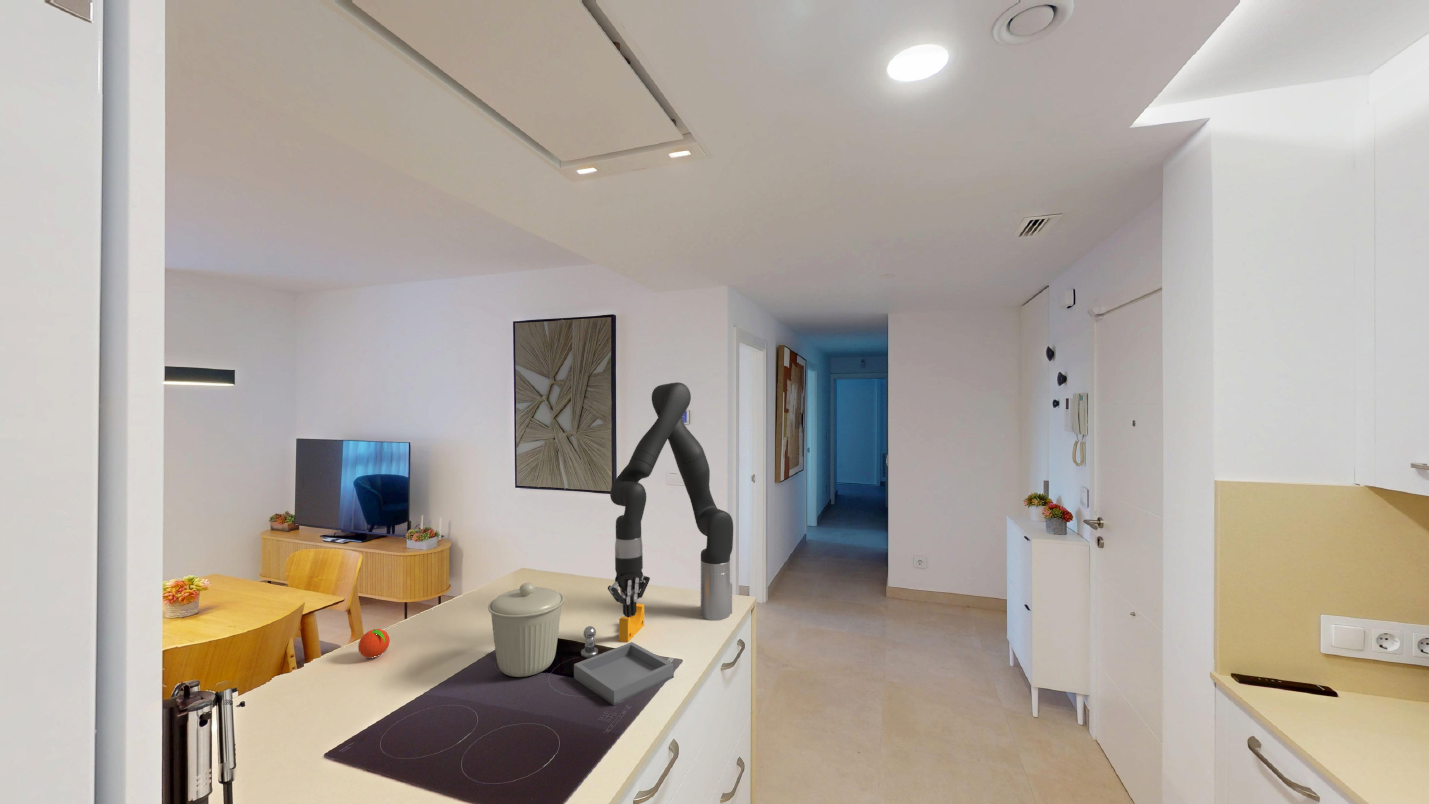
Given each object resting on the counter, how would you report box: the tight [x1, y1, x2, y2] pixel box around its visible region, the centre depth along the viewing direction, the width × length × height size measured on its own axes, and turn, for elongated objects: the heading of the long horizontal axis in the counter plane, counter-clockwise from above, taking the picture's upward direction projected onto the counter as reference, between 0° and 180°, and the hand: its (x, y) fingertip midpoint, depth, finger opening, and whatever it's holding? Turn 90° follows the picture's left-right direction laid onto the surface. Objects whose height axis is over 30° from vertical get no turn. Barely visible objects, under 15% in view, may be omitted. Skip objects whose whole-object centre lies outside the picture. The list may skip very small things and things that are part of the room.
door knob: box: [580, 625, 599, 659], centre depth 140 cm, size 4×4×7 cm
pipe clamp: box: [618, 602, 645, 643], centre depth 153 cm, size 12×4×6 cm, turn 165°
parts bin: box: [573, 641, 675, 706], centre depth 128 cm, size 17×17×4 cm
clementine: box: [358, 628, 391, 658], centre depth 139 cm, size 8×7×7 cm
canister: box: [487, 582, 565, 678], centre depth 133 cm, size 18×18×21 cm
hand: (629, 615), depth 147 cm, fingers closed
